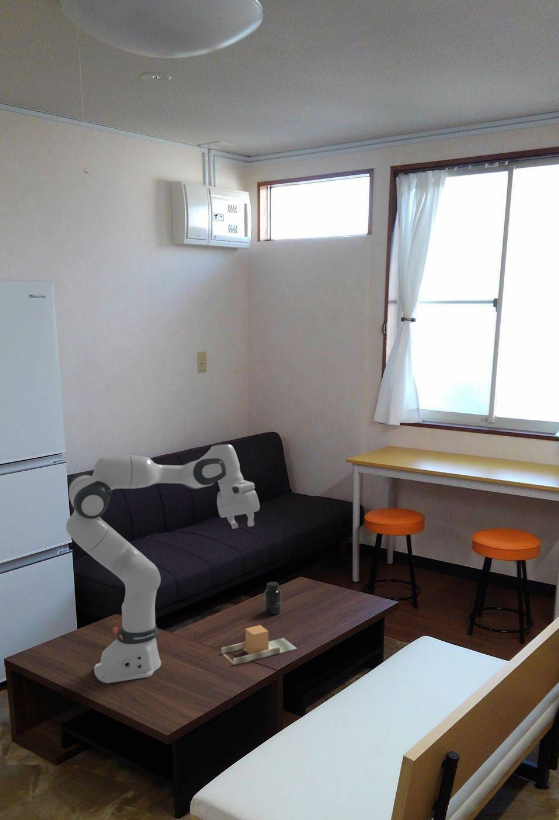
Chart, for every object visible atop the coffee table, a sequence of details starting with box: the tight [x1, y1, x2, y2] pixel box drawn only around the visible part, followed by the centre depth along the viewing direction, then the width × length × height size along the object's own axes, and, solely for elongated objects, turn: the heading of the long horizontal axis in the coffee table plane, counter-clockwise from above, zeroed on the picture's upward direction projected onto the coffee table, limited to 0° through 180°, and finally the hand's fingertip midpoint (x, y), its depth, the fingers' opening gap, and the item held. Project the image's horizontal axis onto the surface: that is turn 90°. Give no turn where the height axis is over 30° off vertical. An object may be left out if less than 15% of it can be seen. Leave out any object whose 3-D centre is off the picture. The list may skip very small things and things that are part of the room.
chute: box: [221, 637, 298, 666], centre depth 250 cm, size 25×10×4 cm, turn 119°
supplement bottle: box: [264, 581, 282, 616], centre depth 288 cm, size 7×7×12 cm
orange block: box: [245, 624, 269, 654], centre depth 249 cm, size 6×6×8 cm
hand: (243, 527), depth 245 cm, fingers open, 8 cm apart
